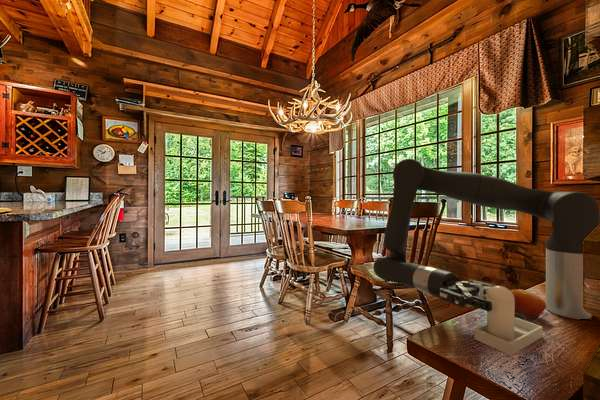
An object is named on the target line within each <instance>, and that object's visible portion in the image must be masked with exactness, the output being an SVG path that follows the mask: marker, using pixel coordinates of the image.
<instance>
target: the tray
mask: <svg viewBox="0 0 600 400" xmlns="http://www.w3.org/2000/svg"><path fill="white" fill-rule="evenodd" d="M473 329H474V330H473V331H474V339H473V340H476V341H478V342H480V343H482V344H484V345H486V346H489V347H491V348H494V349H496V350H497V351H500V352H503V353H505V354H507V355H509V356H512V355H514V354H516V353H518V352H520V351H521V350H522V349H524V348H527V347H528V346H530V345H532V344H533V343H534V342H537V341H538V340H540V339H542V338H543V337H544V336H543V332H544V330H543V329H544V328H543V326H542V325H538V324H536V323H533V322H530V321H528V320H525V321H524V319H521V318H519V317H515V336H514V340H513V341H512V342H507V341H505V340H503V339H500V338H498V337H495V336H493V335H491V334H488V333H487V322H486V323H484V324H481V325H479V326H476V327H475V328H473Z"/></svg>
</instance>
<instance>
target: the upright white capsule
mask: <svg viewBox="0 0 600 400" xmlns="http://www.w3.org/2000/svg"><path fill="white" fill-rule="evenodd" d="M486 291H487V298H486V300H489V301H491V302H492V311H490V312H488V311H486V323H487V333H488V334H491V335H493V336H495V337H498V338H500V339H503V340H505V341H507V342H512V341H513V340H514V336H515V315H516V314H515V298H514V295H513V294H512V292H511V291H510V289H509V288H507V287H505V286H503V285H495V286H493V287H491V288H490V289H489V290H486Z"/></svg>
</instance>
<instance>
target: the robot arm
mask: <svg viewBox="0 0 600 400" xmlns="http://www.w3.org/2000/svg"><path fill="white" fill-rule="evenodd" d="M392 178H393V193H392V194H393V195H392V201H391V202H392V203H391V206H390V211H389V215H388V218H387V222H386V226H385V230H384V237H383V242H382V246H383V248H384V249H386V250H388V251H389V256H382V257H381V256H380V257H378V258H377V259H376V260H375V261H374V262H373V265H372V266H373V267H372V268H373V271H374V273H375V275H376V276H377V277H378V278H380V279H381V280H384V281H386V282H390V283H391V282H392V283H396V284H401V285H405V286H407V287H410V288H412V289H415V290H418V291H419V292H421V293H424V294H427V295H428V296H429V295H430V296H432V297H435V298H437V299H439V300H441V301H444V302H447V303H449V304H453V305H455V306H457V307H460V308H465V306H466V307H469V308H470V307H474V308H477V309H480V310H482V311H486V312H487V311H488V312H490V311H492V302H491V301H489V300H487V291H488V290H489V289H490V288H491V287H493V286H496V285H495V284H490V283H487V282H482V281H479V280H475V279H469V281H467V280H462V281H461V280H460V279H459V277H458V276H457V274H456V273H455V272H451V271H448V270H444V269H441V268H436V267H432V266H426V265H421V264H417V263H414V262H407V252H406V247H407V246H406V245H407V241H408V236H409V232H410V230H409V229H410V224H411V217H412V211H413V207H414V203H415V199H416V196H417V192H418V190H419V191H424V192H425V191H426V192H431V193H435V194H439V195H442V196H444V197H448V198H451V199H453V200H457V201H460V202H464V203H466V204H467V203H468V204H472V205H477V206H481V207H484V208H489V209H490V208H491V209H497V210H498V209H499V210H507V211H514V212H520V213H524V214H527V215H531V216H533V217H537V218H539V219H543V220H547V221H549V222H551V223H552V233H551V235H550V236H549V237H547V238H546V239H545V304H546V308H545V310H547V311H549V312H551V313H552V314H554V315H558V316H561V317H564V318H569V319H572V320H573V319H574V320H580V319H589V318H590V317H591V314H590V313H588V312H586V311H585V310H584V308H583V241H584V239H585V238H586V237H587V236H588V235H589V234H590V233H591V232H592V231H593V230H594V229H595V228H596V227H597V226H598V225H599V226H600V205H599V203H598V202H597V200H596V199H595V198H594V197H593V196H592V195H590V194H589V193H586V192H582V191H554V190H544V189H543V190H542V189H535V188H531V187H525V186H523V185H520V184H517V183H514V182H511V181H509V180H505V179H503V178H500V177H497V176H491V175H488V174H487V175H486V174H481V173H475V172H469V171H468V172H466V171H449V170H439V169H435V168H431V167H428V166H424V165H423V164H422V163H420V162H419V160H417V159H414V158H405V159H402V160H401V161H399V162H397V164H396V165H395V166H394V168H393V171H392ZM485 298H486V299H485Z"/></svg>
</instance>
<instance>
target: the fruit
mask: <svg viewBox="0 0 600 400" xmlns="http://www.w3.org/2000/svg"><path fill="white" fill-rule="evenodd" d="M509 290H510V289H509ZM510 291H511V292H512V294H513V295H514V298H515V315H518V316H520V317H521V318H522V319H523V320H524V321H526V319H537V318H538V317H540V315H541V314H543V312H544V311H545V310H546V301H545V300H543V299H542V298H541V297H540V296H539V295H537V294H534V293H532V292H530V291H527V290H525V289H521V288H519V289H511V290H510Z"/></svg>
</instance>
